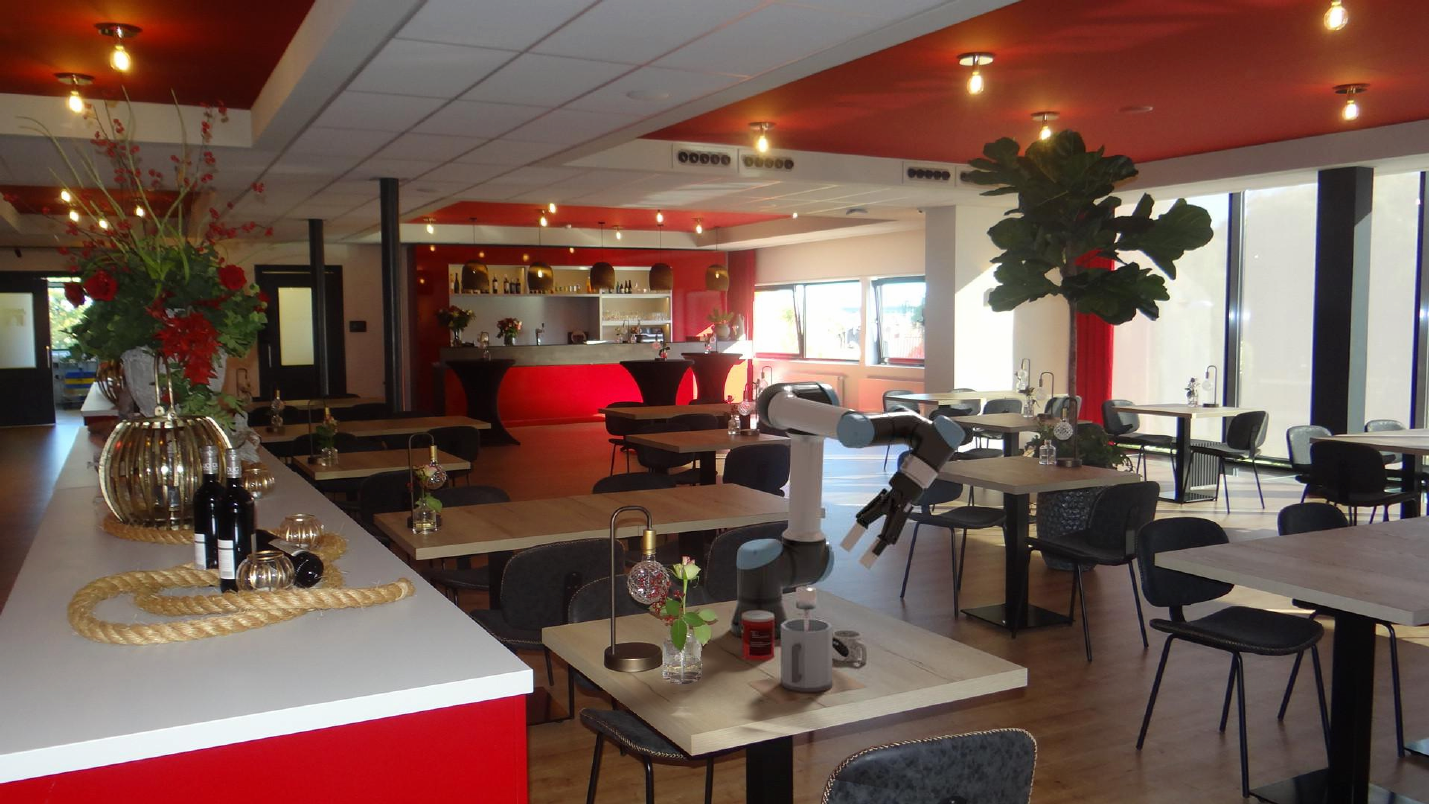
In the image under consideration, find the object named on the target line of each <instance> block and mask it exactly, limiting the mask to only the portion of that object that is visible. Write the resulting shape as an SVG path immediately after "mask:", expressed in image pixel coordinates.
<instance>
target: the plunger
mask: <svg viewBox="0 0 1429 804" xmlns="http://www.w3.org/2000/svg"><path fill="white" fill-rule="evenodd" d="M817 599H818V597H817V588H816V587H815V586H812V585H802V586H796V588H795V608H796V609H798V610H803V618H804V632H809V618H810V617H809V616H810V615H809V614H810V613H809V612H810V610H815V609H817V607H818V606H817V602H818V601H817Z"/></svg>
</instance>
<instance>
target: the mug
mask: <svg viewBox="0 0 1429 804" xmlns="http://www.w3.org/2000/svg"><path fill="white" fill-rule="evenodd" d="M867 650H868V649H867V646H866V645H865V643H864V642H862V634H861V633H860V632H859V631H856V630H849V629H841V630H840V629H839V630H835V631H832V659H834V660H837V661H840V662H855V663H859V664H864V665H865V664H866V663H867V659H868V651H867Z"/></svg>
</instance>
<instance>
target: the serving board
mask: <svg viewBox="0 0 1429 804" xmlns="http://www.w3.org/2000/svg"><path fill="white" fill-rule="evenodd" d="M832 679H833V686H832V688H831V689H830V690H828V691H825V692H821V693H814V694H802V693H795V692H791V691H788V690H785V689H784V688H782V687H781V676H778V677H772V678H766V679H761V680H755V681H748V682H746V684H748V685H749V686H750V687H752V688H754V689H755V690H757V691H758V692H760V693H761V694H763V695H764V696H766V697H767V698H769V699H770V700H772V702H774V703H776V704H783V703H789V702H793V701H799V700H804V699H809V698H810V699H811V698H815V697H820V696H825V695H826V696H828V695H830V694H831V695H832V694H837V693H843V692H847V691H853V690H859V689H864V688H868V686H867V685H865V684H864V683H862V682H860V681H858V680H856V679H855V678H852V676H851V677H850V676H849V675H847V674H845V673H843V672H841V671H839V670H838V669H836V668H834V667H832Z"/></svg>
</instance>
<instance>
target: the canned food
mask: <svg viewBox="0 0 1429 804" xmlns="http://www.w3.org/2000/svg"><path fill="white" fill-rule="evenodd" d="M741 622H742V638H741V656H742V658H743V659H746V660H748V661H749V660H750V661H756V662H759V661H761V662H762V661H763V662H764V661H768V660H769V661H770V660H772V659H774V658H775V638H774V614H773V613H771V612H768V611H761V610H754V611H747V612H744V613H743V614H742V621H741Z"/></svg>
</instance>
